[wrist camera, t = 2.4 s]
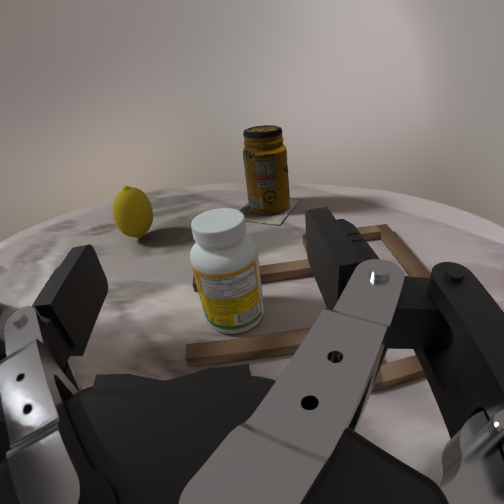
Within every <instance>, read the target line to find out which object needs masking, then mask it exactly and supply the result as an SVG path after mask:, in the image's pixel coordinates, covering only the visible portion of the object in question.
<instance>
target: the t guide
mask: <svg viewBox="0 0 504 504" xmlns="http://www.w3.org/2000/svg"><path fill="white" fill-rule="evenodd" d="M357 230H358V231H359V232H360V234H361V235H362V236H363V238H364V240H372V239H379V238H380V239H381V240H382V241H383V243H384V244H385V245H386V247H387V248H388V249H389V250H390V252H391V253H392V254H393V255H394V257H395V258H396V259H397V261H398V262H399V263H400V264H401V266H402V267H403V268H404V270H405V271H406V272H407V274H408V275H409V276H410V277H428V278H430V274H429V273H428V272H427V271H426V269H425V268H424V267H423V266H422V265H421V263H420V262H419V261H418V260H417V259H416V257H415V256H414V255H413V254H412V253H411V252H410V250H409V249H408V248H407V247H406V246H405V245H404V243H403V242H402V241H401V240H400V239H399V238H398V237H397V236H396V234H395V233H394V232H393V231H392V230H391V229H390V228H389V227H388V226H387V224H383V225H375V226H368V227H360V228H357ZM303 244H304V246H305V249H306V251H307V243H306V235H303ZM259 269H260V278H261V283H263V282H270V281H277V280H284V279H291V278H297V277H304V276H311V275H313V272H312V270H311V267H310V265H309V261H308V259H306V260H299V261H292V262H285V263H278V264H271V265H264V266H259ZM193 287H194V291H198V288H197V285H196V281H195V277H194V275H193ZM310 329H311V328H307V329H301V330H295V331H289V332H282V333H276V334H269V335H262V336H255V337H247V338H239V339H231V340H223V341H214V342H205V343H195V344H187V348H186V360H187V363H188V365H189V366H195V365H206V364H217V363H226V362H235V361H243V360H251V359H258V358H266V357H273V356H279V355H286V354H292V353H295V352H296V351H297V349H298V348H299V346H300V345H301V343H302V342H303V340H304V339H305V337H306V335H307V334H308V332H309V331H310ZM423 376H425V373H424V371H423V369H422V367H421V364H420V362H419V360H418V358H417V356H416V355H414V356H411V357H407V358H404V359H400V360H397V361H393V362H390V363H386V364H382V366H381V369H380V371H379V374H378V376H377V379H376V382H375V384H374V386H373V389H372V391H371V392H373V391H377V390H380V389H384V388H387V387H391V386H394V385H398V384H401V383H404V382H407V381H410V380H413V379H417V378H420V377H423Z"/></svg>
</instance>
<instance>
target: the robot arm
mask: <svg viewBox="0 0 504 504" xmlns="http://www.w3.org/2000/svg"><path fill="white" fill-rule="evenodd" d="M305 219H306V243H307V256H308V261H309V265H310V267H311V270H312V272H313V275H314V277H315V279H316V282H317V284H318V287H319V289H320V292H321V294H322V297H323V299H324V302H325V304H326V307H327V308H325V309H324V310H323V311H322V312H321V313H320V315H319V316H318V318H317V320H316V321H315V323H314V324H313V326H312V328H311V329H310V331H309V332H308V334H307V335H306V337H305V339H304V340H303V342H302V343H301V345H300V346H299V348H298V349H297V351H296V352H295V354H294V356H293V357H292V359H291V360H290V362H289V363H288V365H287V366H286V368H285V369H284V370H283V372H282V373H281V375H280V376H279V378H278V379H277V381H275V380H272V379H268V378H263V377H257V376H251V373H250V368H249V364H245V365H237V366H229V367H220V368H211V369H205V370H202V371H199V372H195V373H192V374H189V375H185V376H182V377H178V378H175V379H171V380H167V381H162V380H156V379H151V378H146V377H141V376H136V375H131V374H110V375H96V378H95V381H94V385H93V387H89V388H86V389H84V390H83V389H82V387H81V385H80V382H79V380H78V378H77V375H76V373H75V371H74V368H73V366H72V364H71V363H70V362H69V360H68V359H69V356H83V354H84V351H85V349H86V346H87V343H88V340H89V338H90V335H91V332H92V330H93V327H94V325H95V322H96V320H97V317H98V315H99V312H100V310H101V307H102V305H103V302H104V300H105V298H106V295H107V292H108V283H107V279H106V276H105V274H104V271H103V269H102V267H101V264H100V262H99V259H98V257H97V254H96V252H95V250H94V248H93V247H92V246H91V245H84V246H79V247H74V248H72V249H71V251H70V252H69V253H68V255H67V256H66V258H65V259H64V261H63V262H62V263H61V265H60V266H59V267H58V268H57V269H55V271H54V272H53V274H52V275H51V277H50V278H49V279H50V280H48V281H47V283H46V284H45V287H43V289H42V291H41V292H40V294H39V295H38V297H37V299H36V300H35V302H34V303H33V305H32V307H31V306H27V307H23V308H21V309H19V310H17V311H16V312H14V313H13V314H12V315H11V316H10V317H9V318H8V320H7V321H6V323H5V326H4V330H1V331H0V504H504V312H503V311H502V310H501V308H500V307H499V306H498V304H497V303H496V302H495V301H494V299H493V298H492V297H491V295H490V294H489V293H488V292H487V290H486V289H485V288H484V287H483V285H482V284H481V283H480V282H479V281H478V279H477V278H476V277H475V276H474V275H473V273H472V272H471V271H470V270H469V269H467V268H466V267H464V266H462V265H460V264H457V263H452V262H442V263H439V264H437V265H435V266H434V267H433V269H432V272H431V276H430V278H428V277H407V276H404V272H403V271H402V269H401V268H400V267H399V266H398V265H396V264H394V263H393V262H390V261H387V260H382V259H379V258H378V256H377V255H376V254H375V252H374V251H373V250H372V248H371V247H370V245H369V244H368V243H367V242H366V240H364V238H363V236H362V235H361V234H360V232H359V231H358V230H357V228H356V227H355V226H354V225H353V224H351V223H350V222H348V221H346V220H344V219H338V220H336V219H335V218H334V216H333V215H332V213H331V212H330V211H329V209H328V208H327V207H326V208H318V209H310V210H306V214H305ZM0 312H1V304H0ZM388 348H393V349H414V351H415V354H416V356H417V358H418V360H419V362H420V364H421V367H422V369H423V371H424V373H425V376H426V378H427V380H428V383H429V385H430V387H431V390H432V392H433V394H434V397H435V399H436V401H437V404H438V406H439V409H440V411H441V414H442V416H443V419H444V422H445V424H446V427H447V429H448V432H449V435H450V438H451V440H450V441H449V442H448V443H447V445H446V446H445V448H444V451H443V455H442V465H443V477H442V481H441V483H440V485H439V486H438V485H437V484H436V483H435V482H434V481H432V480H431V479H430V478H428V477H427V476H425V475H423V474H421V473H420V472H418V471H416V470H415V469H413V468H411V467H410V466H408V465H406V464H405V463H403V462H401V461H400V460H398V459H397V458H395V457H393V456H392V455H390V454H389V453H387V452H385V451H384V450H382V449H381V448H379V447H378V446H376V445H375V444H373V443H372V442H370V441H369V440H367V439H366V438H364V437H363V436H361V435H360V434H358V433H357V432H355V430H356V428H357V425H358V423H359V421H360V419H361V417H362V414H363V412H364V409H365V407H366V404H367V402H368V399H369V396H370V394H371V391H372V389H373V386H374V384H375V382H376V379H377V376H378V374H379V371H380V369H381V366H382V363H383V361H384V358H385V355H386V352H387V349H388Z"/></svg>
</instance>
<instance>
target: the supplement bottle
mask: <svg viewBox="0 0 504 504" xmlns="http://www.w3.org/2000/svg"><path fill="white" fill-rule="evenodd" d="M191 227H192V233H193V238H194V240H195V242H196V243H195V244H194V246H193V247H192V249H191V252H190V261H191V265H192V270H193V273H194V277H195V281H196V285H197V288H198V292H199V295H200V299H201V303H202V306H203V310H204V313H205V317H206V319H207V321H208V323H209V325H210V326H211V327H212V328H213V329H215V330H216V331H218V332H221V333H226V334H238V333H243V332H245V331H248V330H250V329H252V328H253V327H255V326H256V325H257V324H258V323H259V322H260V320H261V319H262V317H263V313H264V304H263V295H262V287H261V278H260V269H259V260H258V251H257V246H256V243H255V242H254V240H253V239H252V238H251V237H250V236H249V235H247V234H246V230H247V229H246V224H245V218H244V215H243V213H242V212H240V211H238V210H235V209H230V208H221V209H213V210H209V211H206V212H204V213H201V214H200V215H198V216H197V217H195V218H194V219H193V221H192V223H191Z"/></svg>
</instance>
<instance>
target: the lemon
mask: <svg viewBox="0 0 504 504" xmlns="http://www.w3.org/2000/svg"><path fill="white" fill-rule="evenodd" d="M113 216H114V220H115V223H116V225H117V227H118V228H119V230H120V231H121V232H122V233H123V234H125V235H127V236H130V237H136V238H139V239H140V238H142V237H143V235H144V234H145V233H146V232H147V231H148V230H149V228H150V227H151V224H152V221H153V211H152V207H151V204H150V201H149V199H148V198H147V196H146V195H145V194H144V192H142V191H141V190H139V189H137V188H133V187H128V186H125V187H123V189H122V190H121V191H120V192H119V193H118V194H117V196H116V197H115V199H114V202H113Z"/></svg>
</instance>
